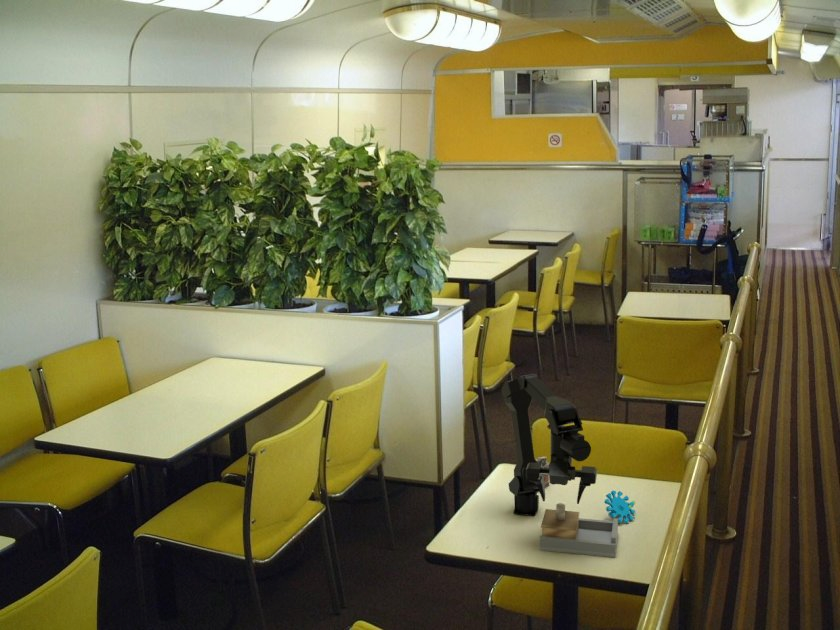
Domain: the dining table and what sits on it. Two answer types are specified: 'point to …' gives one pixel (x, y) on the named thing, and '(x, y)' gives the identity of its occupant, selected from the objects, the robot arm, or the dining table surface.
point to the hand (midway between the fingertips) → (560, 502)
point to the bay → (587, 539)
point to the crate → (560, 523)
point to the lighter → (544, 465)
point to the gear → (619, 507)
